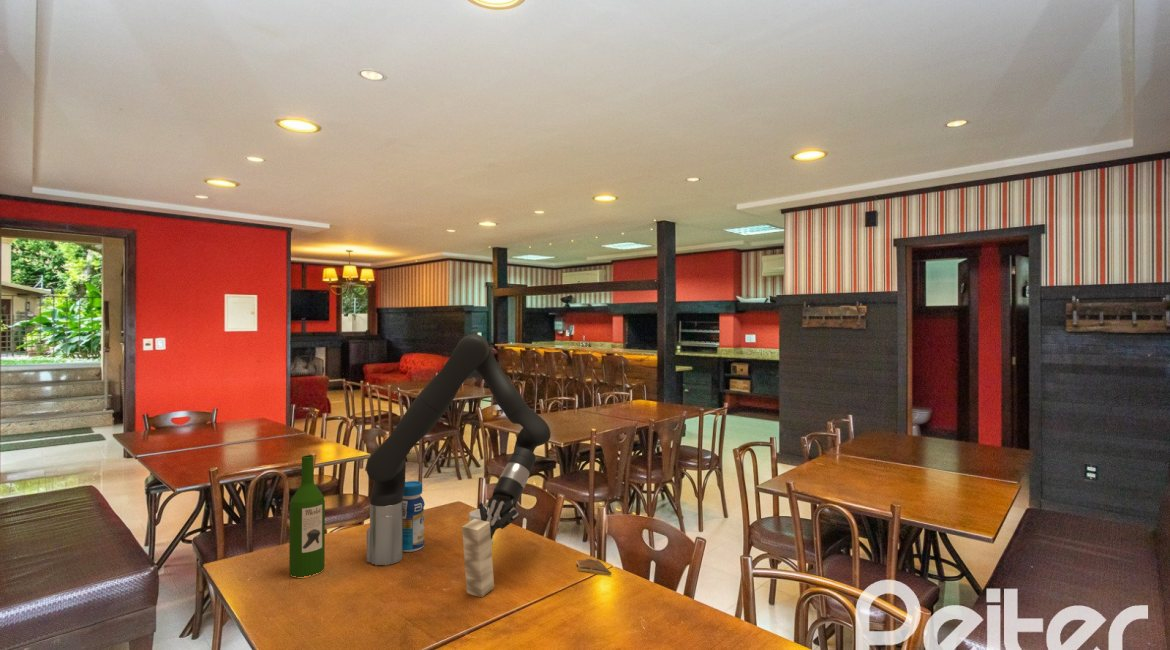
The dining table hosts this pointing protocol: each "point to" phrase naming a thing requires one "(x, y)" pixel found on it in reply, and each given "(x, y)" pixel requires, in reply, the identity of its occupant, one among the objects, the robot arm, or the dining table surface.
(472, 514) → the white cup
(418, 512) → the beverage bottle
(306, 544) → the wine bottle
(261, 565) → the dining table surface
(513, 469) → the robot arm
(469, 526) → the birch block
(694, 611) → the dining table surface
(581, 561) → the shard
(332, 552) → the dining table surface
